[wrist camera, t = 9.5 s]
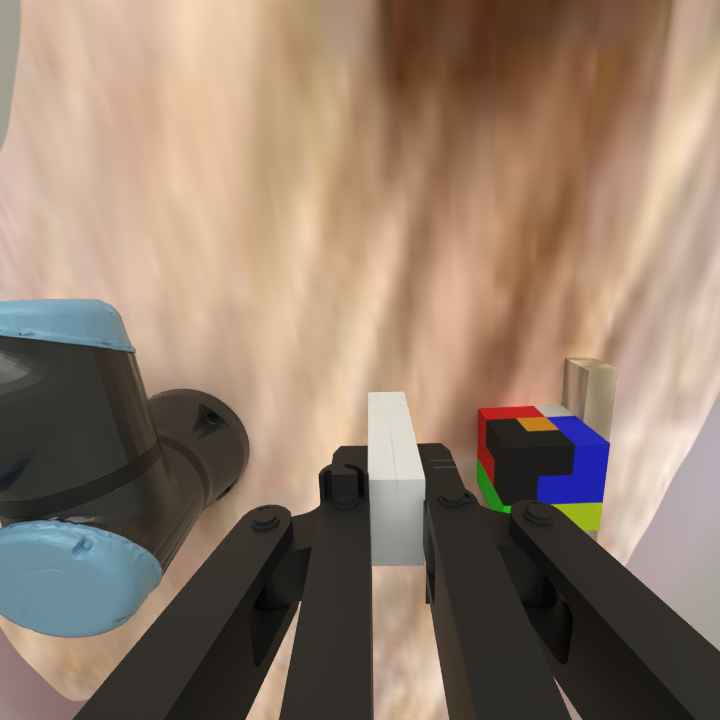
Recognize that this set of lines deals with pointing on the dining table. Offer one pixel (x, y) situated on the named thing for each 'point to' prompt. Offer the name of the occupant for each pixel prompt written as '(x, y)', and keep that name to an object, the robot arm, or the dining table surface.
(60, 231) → the dining table surface
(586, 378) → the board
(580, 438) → the puzzle toy
